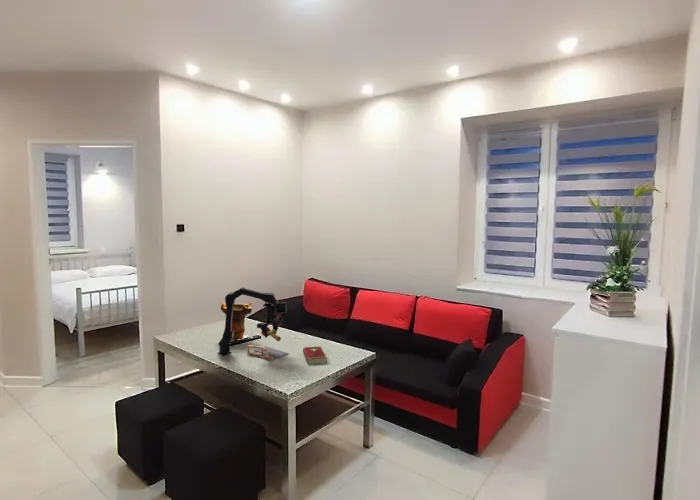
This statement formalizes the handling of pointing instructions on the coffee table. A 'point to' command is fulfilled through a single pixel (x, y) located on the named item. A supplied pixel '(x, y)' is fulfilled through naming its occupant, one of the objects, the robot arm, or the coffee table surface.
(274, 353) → the mat
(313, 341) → the coffee table surface
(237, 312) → the decorative vase
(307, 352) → the hardcover book
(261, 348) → the tan wooden frame
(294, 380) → the coffee table surface
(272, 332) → the kendama
